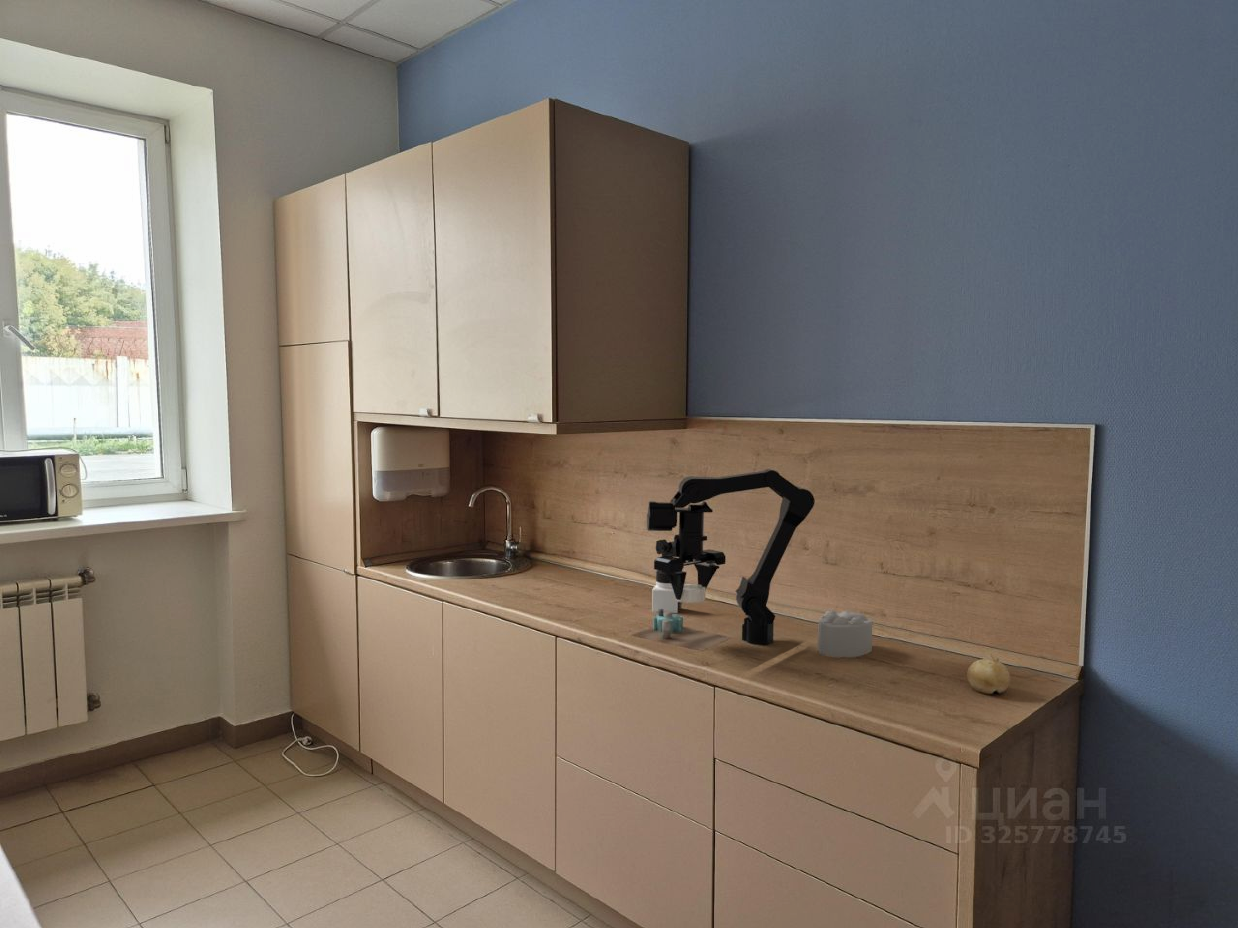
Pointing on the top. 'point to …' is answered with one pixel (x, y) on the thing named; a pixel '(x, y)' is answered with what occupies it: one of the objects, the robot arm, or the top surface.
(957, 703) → the top surface
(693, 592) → the off-white gear
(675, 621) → the teal gear
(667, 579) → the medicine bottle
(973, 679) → the onion
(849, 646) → the lumpy-topped squat cylinder
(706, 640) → the gear board
